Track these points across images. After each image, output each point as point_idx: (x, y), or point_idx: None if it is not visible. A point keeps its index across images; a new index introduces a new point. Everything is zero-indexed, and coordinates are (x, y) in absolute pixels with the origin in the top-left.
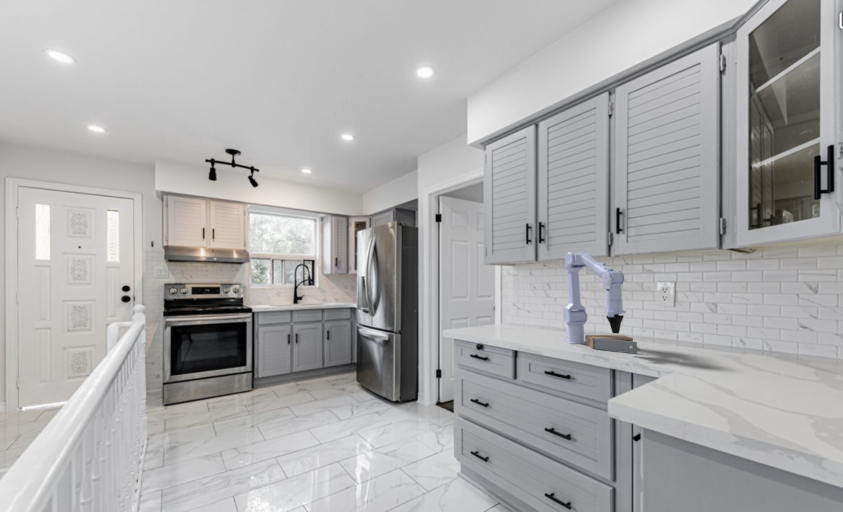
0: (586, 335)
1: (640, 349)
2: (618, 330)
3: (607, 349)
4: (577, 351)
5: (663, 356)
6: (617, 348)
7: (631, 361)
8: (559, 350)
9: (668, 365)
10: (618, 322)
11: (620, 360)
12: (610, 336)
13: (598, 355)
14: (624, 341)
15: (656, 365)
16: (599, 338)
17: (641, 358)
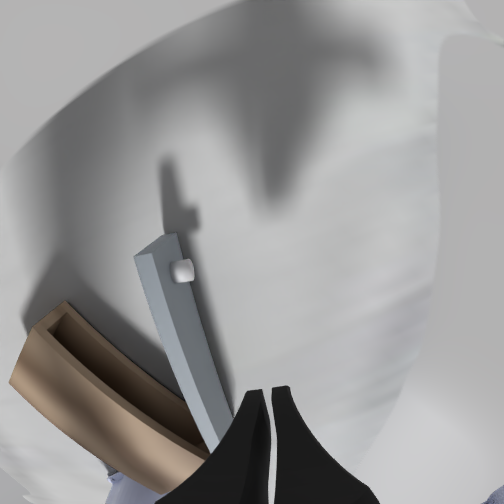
0: (162, 492)
1: (46, 270)
2: (292, 401)
3: (217, 381)
4: (326, 441)
5: (130, 100)
6: (201, 343)
7: (408, 178)
8: None
9: (361, 13)
10: (334, 463)
11: (419, 232)
12: (87, 425)
13: (363, 359)
14: (176, 332)
15: (406, 56)
16: (191, 452)
17: (287, 162)
